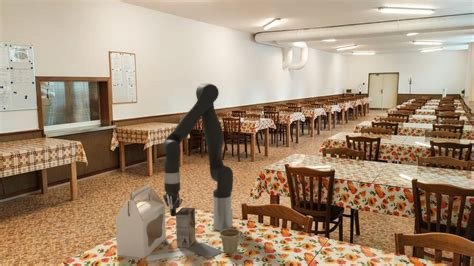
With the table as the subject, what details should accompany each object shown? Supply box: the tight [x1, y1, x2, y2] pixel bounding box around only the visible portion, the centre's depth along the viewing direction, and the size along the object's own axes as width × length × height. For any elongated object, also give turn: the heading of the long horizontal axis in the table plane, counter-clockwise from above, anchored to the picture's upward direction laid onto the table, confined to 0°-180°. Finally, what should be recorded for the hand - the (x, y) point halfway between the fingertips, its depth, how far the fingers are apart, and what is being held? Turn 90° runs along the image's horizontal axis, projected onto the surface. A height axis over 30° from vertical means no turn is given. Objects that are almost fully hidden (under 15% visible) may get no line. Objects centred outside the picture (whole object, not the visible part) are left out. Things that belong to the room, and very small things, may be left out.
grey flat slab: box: [186, 241, 224, 260], centre depth 166 cm, size 9×14×1 cm, turn 47°
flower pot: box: [219, 228, 241, 255], centre depth 165 cm, size 9×9×9 cm
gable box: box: [115, 183, 167, 259], centre depth 169 cm, size 22×13×28 cm, turn 166°
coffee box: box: [175, 207, 197, 248], centre depth 173 cm, size 9×6×16 cm
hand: (173, 215), depth 179 cm, fingers closed
